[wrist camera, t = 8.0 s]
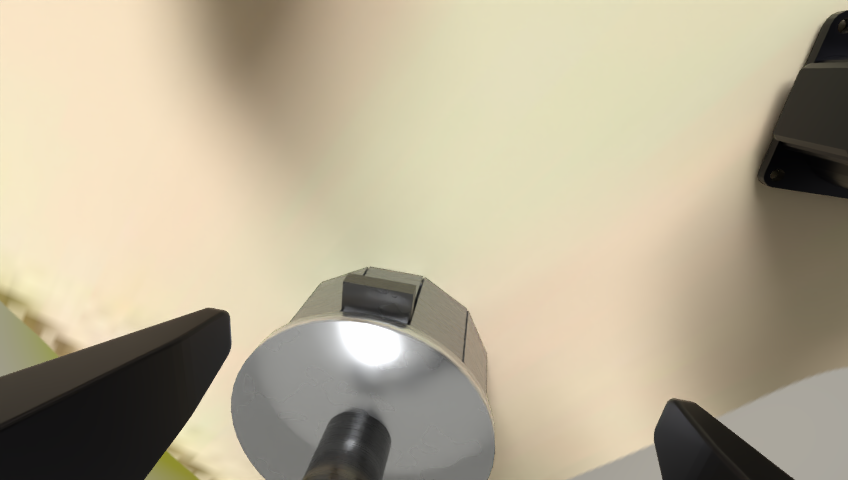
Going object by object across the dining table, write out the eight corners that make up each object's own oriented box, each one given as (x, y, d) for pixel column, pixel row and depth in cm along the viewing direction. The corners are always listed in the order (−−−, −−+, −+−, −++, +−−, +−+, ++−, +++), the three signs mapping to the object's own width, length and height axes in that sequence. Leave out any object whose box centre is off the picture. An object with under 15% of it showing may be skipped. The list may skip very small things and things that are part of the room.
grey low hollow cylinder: (506, 266, 21) (511, 320, 16) (462, 463, 26) (456, 546, 22) (295, 229, 22) (244, 270, 17) (293, 426, 27) (254, 498, 23)
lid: (520, 341, 17) (534, 468, 11) (470, 537, 21) (464, 692, 16) (234, 288, 18) (124, 381, 12) (245, 486, 22) (169, 615, 17)
